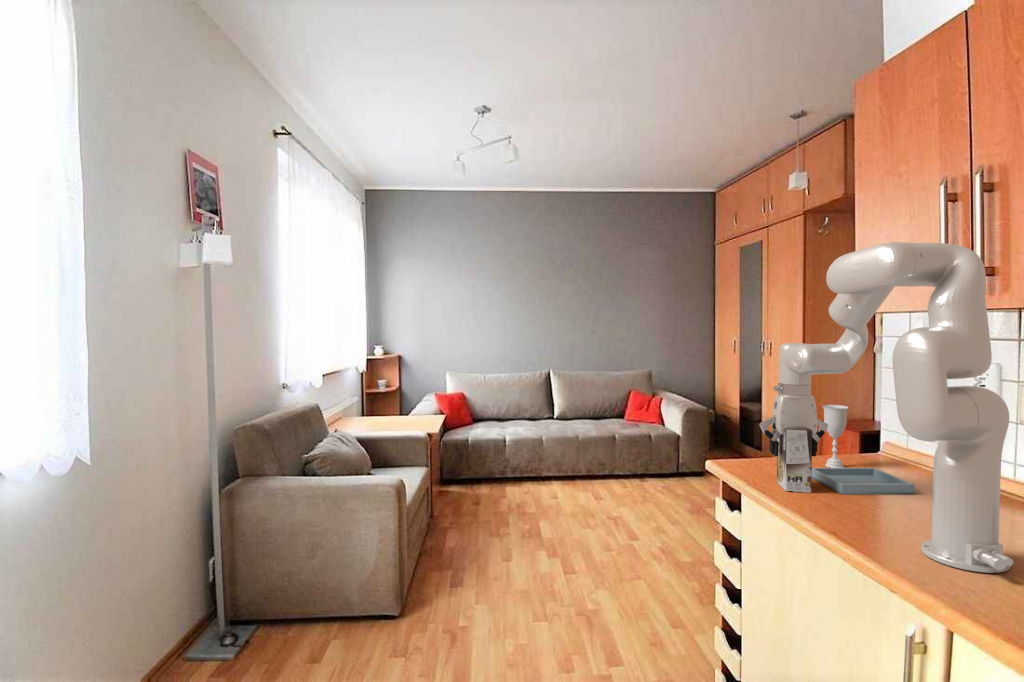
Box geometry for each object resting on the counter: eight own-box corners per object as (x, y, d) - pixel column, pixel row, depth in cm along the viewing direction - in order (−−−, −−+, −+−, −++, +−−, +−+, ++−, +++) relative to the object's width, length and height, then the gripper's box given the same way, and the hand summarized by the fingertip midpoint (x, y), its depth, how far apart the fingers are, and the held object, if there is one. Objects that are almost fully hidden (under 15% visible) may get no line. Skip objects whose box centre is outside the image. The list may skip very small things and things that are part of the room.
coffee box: (812, 493, 141) (813, 430, 141) (785, 491, 142) (785, 429, 142) (801, 483, 150) (802, 423, 150) (775, 481, 151) (776, 422, 151)
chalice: (852, 470, 162) (853, 408, 162) (826, 469, 164) (827, 408, 163) (842, 463, 170) (842, 405, 169) (817, 462, 171) (818, 404, 170)
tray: (914, 494, 140) (914, 484, 139) (841, 494, 140) (841, 484, 140) (874, 476, 156) (874, 467, 155) (809, 476, 156) (809, 467, 156)
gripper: (767, 392, 142) (765, 458, 143) (836, 392, 142) (834, 459, 142) (755, 388, 149) (753, 451, 150) (820, 388, 149) (818, 451, 150)
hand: (793, 455), depth 146 cm, fingers open, 9 cm apart
